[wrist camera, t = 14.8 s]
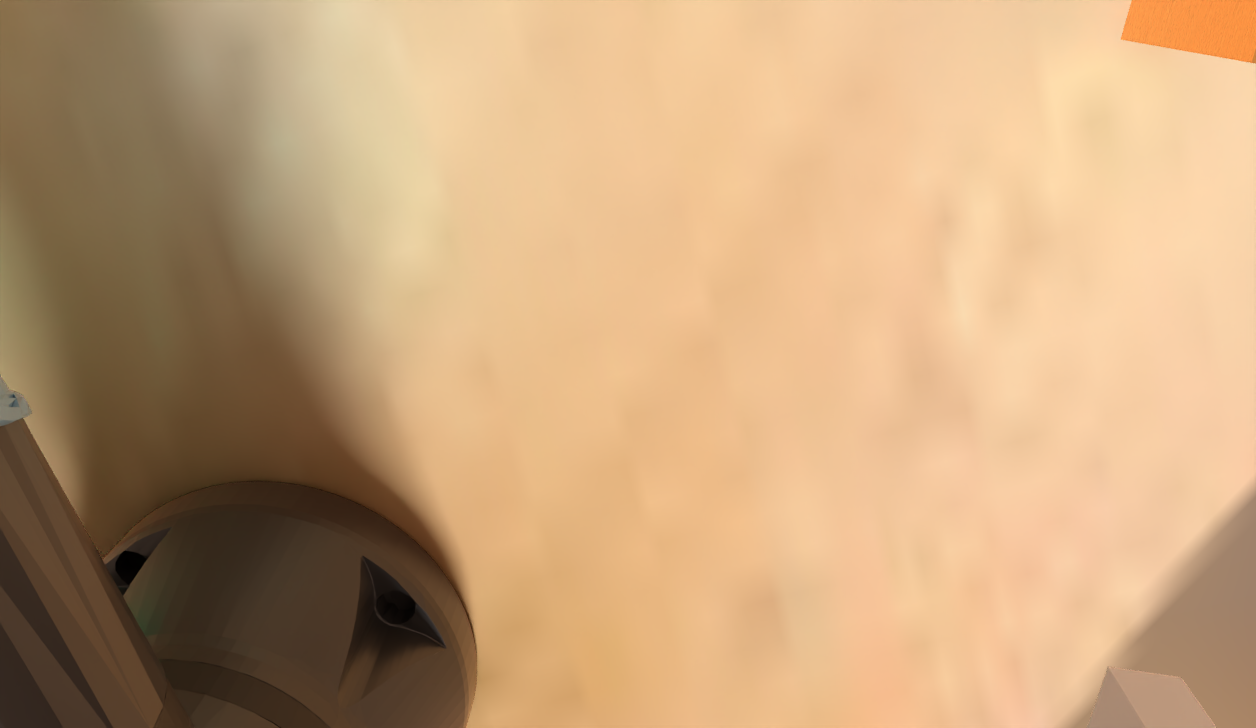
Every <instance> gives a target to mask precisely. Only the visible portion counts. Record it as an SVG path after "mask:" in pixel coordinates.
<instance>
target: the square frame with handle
mask: <svg viewBox="0 0 1256 728" xmlns="http://www.w3.org/2000/svg"><path fill="white" fill-rule="evenodd" d="M1121 40H1127V41H1132V42H1138V43H1144V44H1149V45H1155V46H1160V47H1166V48H1172V49H1177V50H1183V51H1188V52H1194V53H1200V54H1205V55H1211V56H1217V57H1222V58H1228V59H1233V60H1239V61H1245V62H1250V63H1256V0H1132V2H1131V5H1130V9H1129V12H1128V16H1127V19H1126V23H1125V26H1124V30H1123V33H1122V37H1121Z"/></svg>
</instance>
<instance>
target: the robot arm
mask: <svg viewBox="0 0 1256 728" xmlns="http://www.w3.org/2000/svg"><path fill="white" fill-rule="evenodd" d="M31 413H32V410H31V408H30V407H29V405H28V403H27V401H26V399H25V398H24V396H23V395H21V394H20V393H18V392H15V391H12V390H9V388H8V387H7V385H6V383H5V382H4V380H3V379H2V377H1V376H0V728H466V726H467V722H468V719H469V715H470V711H471V708H472V704H473V700H474V695H475V689H476V681H477V658H476V648H475V643H474V638H473V633H472V630H471V626H470V623H469V620H468V617H467V615H466V612H465V610H464V607H463V605H462V603H461V601H460V599H459V597H458V595H457V593H456V592H455V590H454V588H453V586H452V585H451V583H450V582H449V580H448V579H447V577H446V576H445V574H444V573H443V572H442V570H441V569H440V568H439V566H438V565H437V564H436V563H435V562H434V560H433V559H432V558H431V557H430V556H429V555H428V554H427V553H426V552H425V551H424V550H423V549H422V548H421V547H420V546H419V545H418V544H417V543H416V542H415V541H414V540H413V539H411V538H410V537H409V536H408V535H407V534H406V533H404V532H403V531H402V530H400V529H399V528H398V527H396V526H395V525H394V524H392V523H391V522H389V521H388V520H386V519H384V518H383V517H381V516H380V515H378V514H376V513H374V512H373V511H371V510H369V509H367V508H365V507H363V506H361V505H359V504H357V503H355V502H353V501H350V500H348V499H345V498H343V497H340V496H338V495H335V494H332V493H328V492H325V491H322V490H318V489H314V488H310V487H306V486H301V485H295V484H288V483H280V482H263V481H256V482H237V483H229V484H222V485H216V486H212V487H208V488H204V489H201V490H197V491H194V492H191V493H188V494H186V495H183V496H181V497H179V498H176V499H174V500H172V501H170V502H168V503H166V504H164V505H163V506H161V507H159V508H158V509H156V510H155V511H153V512H151V513H150V514H149V515H147V516H146V517H145V518H143V519H142V520H141V521H140V522H139V523H137V524H136V525H135V526H134V527H133V528H132V529H131V530H130V531H129V532H128V533H127V534H126V535H125V536H124V537H123V538H122V539H121V540H120V542H119V543H118V544H117V545H116V546H115V547H114V548H113V549H112V550H111V551H110V552H109V553H108V554H107V555H106V556H105V557H104V558H103V559H102V558H101V557H100V555H99V553H98V551H97V550H96V548H95V546H94V544H93V542H92V541H91V539H90V537H89V535H88V534H87V532H86V530H85V528H84V526H83V525H82V523H81V521H80V519H79V518H78V516H77V514H76V512H75V510H74V509H73V507H72V505H71V503H70V502H69V500H68V498H67V496H66V494H65V493H64V491H63V489H62V487H61V486H60V484H59V482H58V480H57V478H56V477H55V475H54V473H53V471H52V470H51V468H50V466H49V464H48V463H47V461H46V459H45V457H44V455H43V454H42V452H41V450H40V448H39V447H38V445H37V443H36V441H35V439H34V438H33V436H32V434H31V432H30V430H29V428H28V426H27V425H26V423H25V421H24V419H23V418H24V417H27V416H29V415H30V414H31ZM1087 728H1217V727H1216V726H1215V725H1214V723H1213V722H1212V720H1211V719H1210V717H1209V716H1208V715H1207V713H1206V712H1205V710H1204V709H1203V707H1202V706H1201V705H1200V703H1199V702H1198V700H1197V699H1196V698H1195V696H1194V695H1193V693H1192V692H1191V690H1190V689H1189V688H1188V686H1187V685H1186V683H1185V682H1184V681H1183V679H1182V678H1181V677H1176V676H1170V675H1163V674H1155V673H1149V672H1143V671H1136V670H1129V669H1122V668H1115V667H1109V666H1108V668H1107V671H1106V674H1105V677H1104V679H1103V682H1102V685H1101V688H1100V691H1099V694H1098V697H1097V700H1096V702H1095V705H1094V708H1093V711H1092V714H1091V717H1090V720H1089V723H1088V725H1087Z"/></svg>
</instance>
